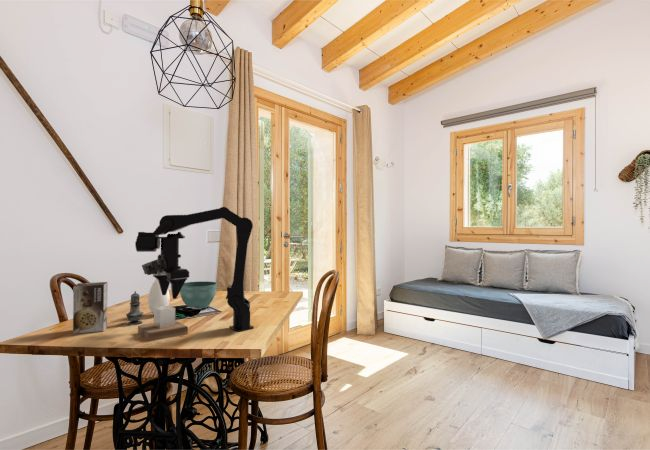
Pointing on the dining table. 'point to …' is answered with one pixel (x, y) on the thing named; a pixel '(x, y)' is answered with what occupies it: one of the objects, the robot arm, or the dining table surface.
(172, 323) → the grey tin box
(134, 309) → the salt shaker
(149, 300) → the white tall oval piece
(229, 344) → the dining table surface
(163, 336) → the walnut block
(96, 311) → the coffee box
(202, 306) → the teal bowl
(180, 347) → the dining table surface
